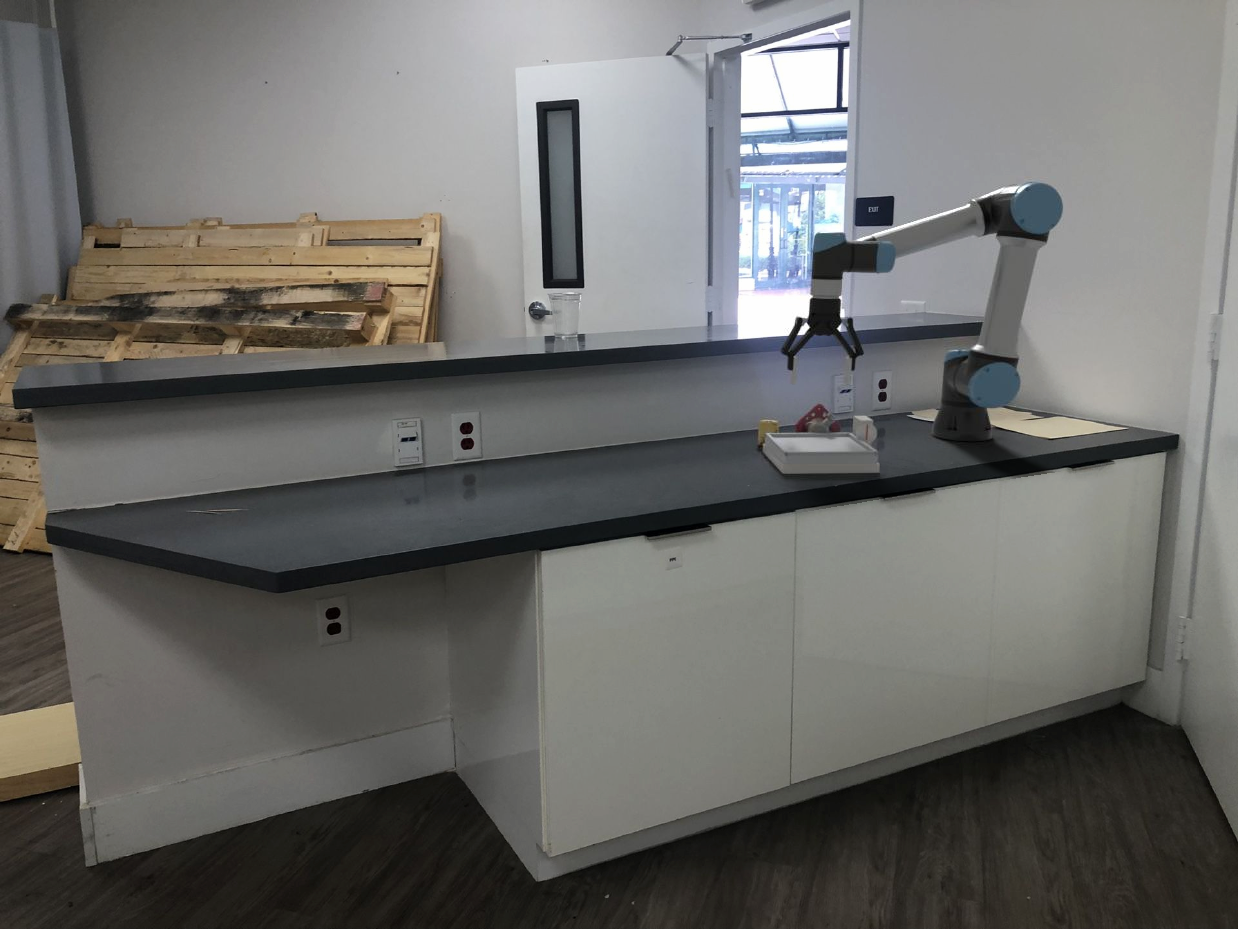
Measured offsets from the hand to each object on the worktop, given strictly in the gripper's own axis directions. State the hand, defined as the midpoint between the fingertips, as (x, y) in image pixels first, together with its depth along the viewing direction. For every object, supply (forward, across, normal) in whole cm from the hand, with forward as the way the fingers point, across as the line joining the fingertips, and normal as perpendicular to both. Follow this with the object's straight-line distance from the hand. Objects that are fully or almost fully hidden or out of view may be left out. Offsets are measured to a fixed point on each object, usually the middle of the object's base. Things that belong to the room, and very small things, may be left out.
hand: (820, 383), depth 240 cm
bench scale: (+16, +2, +16) cm, 23 cm away
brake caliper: (+16, 0, 0) cm, 16 cm away
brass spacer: (+16, +12, -3) cm, 20 cm away
